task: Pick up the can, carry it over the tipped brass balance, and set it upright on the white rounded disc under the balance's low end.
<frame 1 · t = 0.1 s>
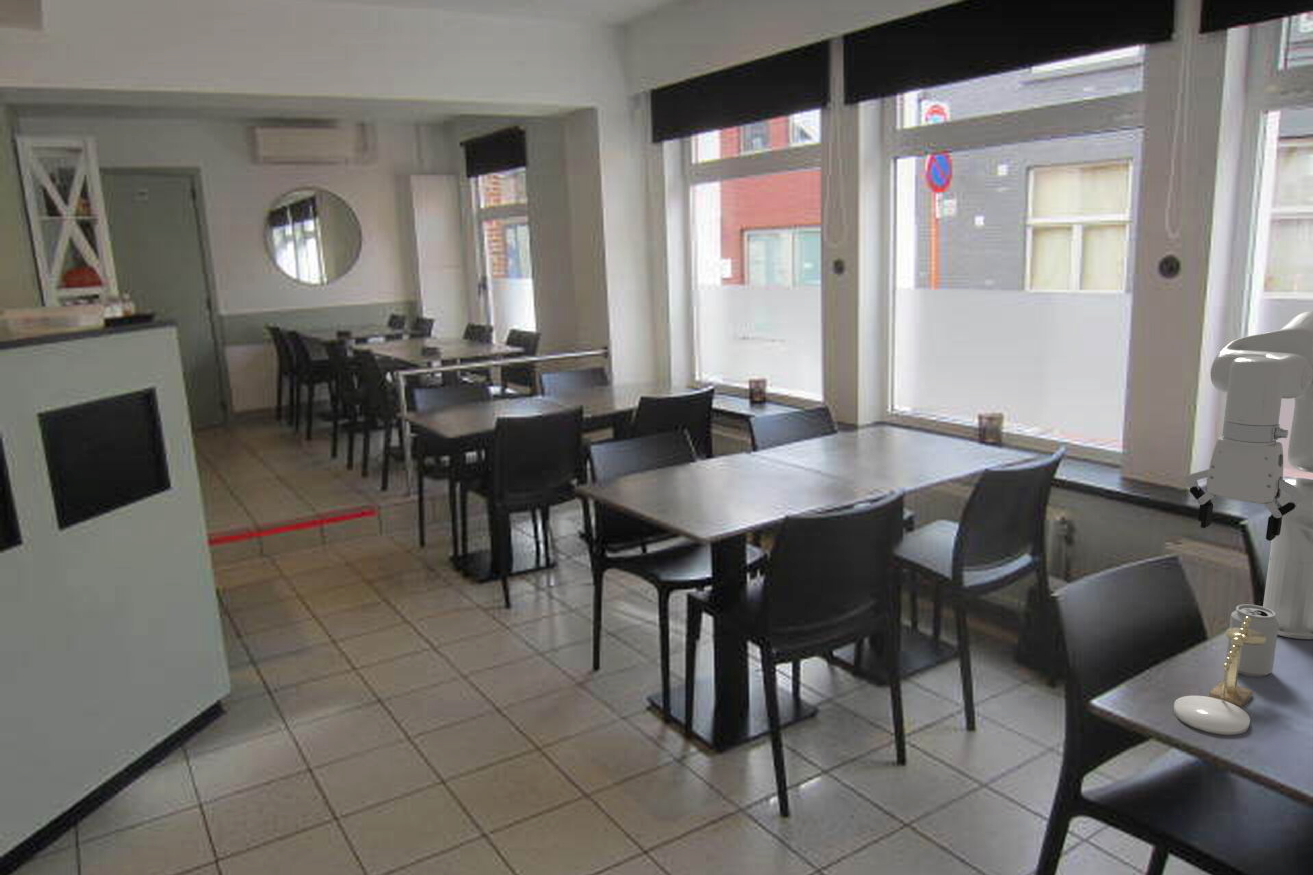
hand: (1237, 532, 155), 31 cm above the table, fingers open, 9 cm apart
can: (1248, 670, 173), on the table
white rounded disc: (1210, 717, 156), on the table
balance: (1230, 696, 163), on the table
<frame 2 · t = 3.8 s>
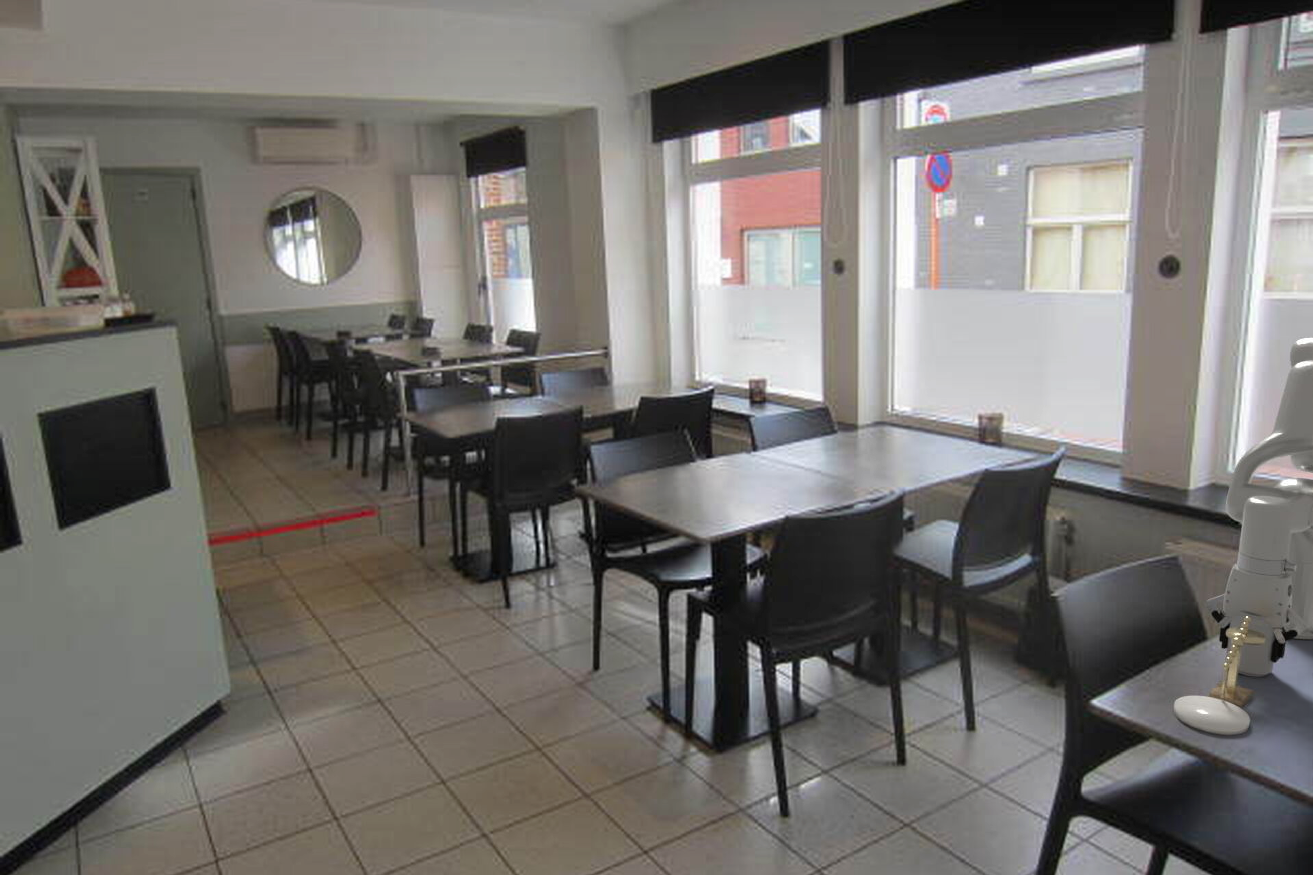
hand: (1250, 652, 172), 3 cm above the table, fingers closed on can, 7 cm apart
can: (1248, 670, 173), on the table, touching gripper
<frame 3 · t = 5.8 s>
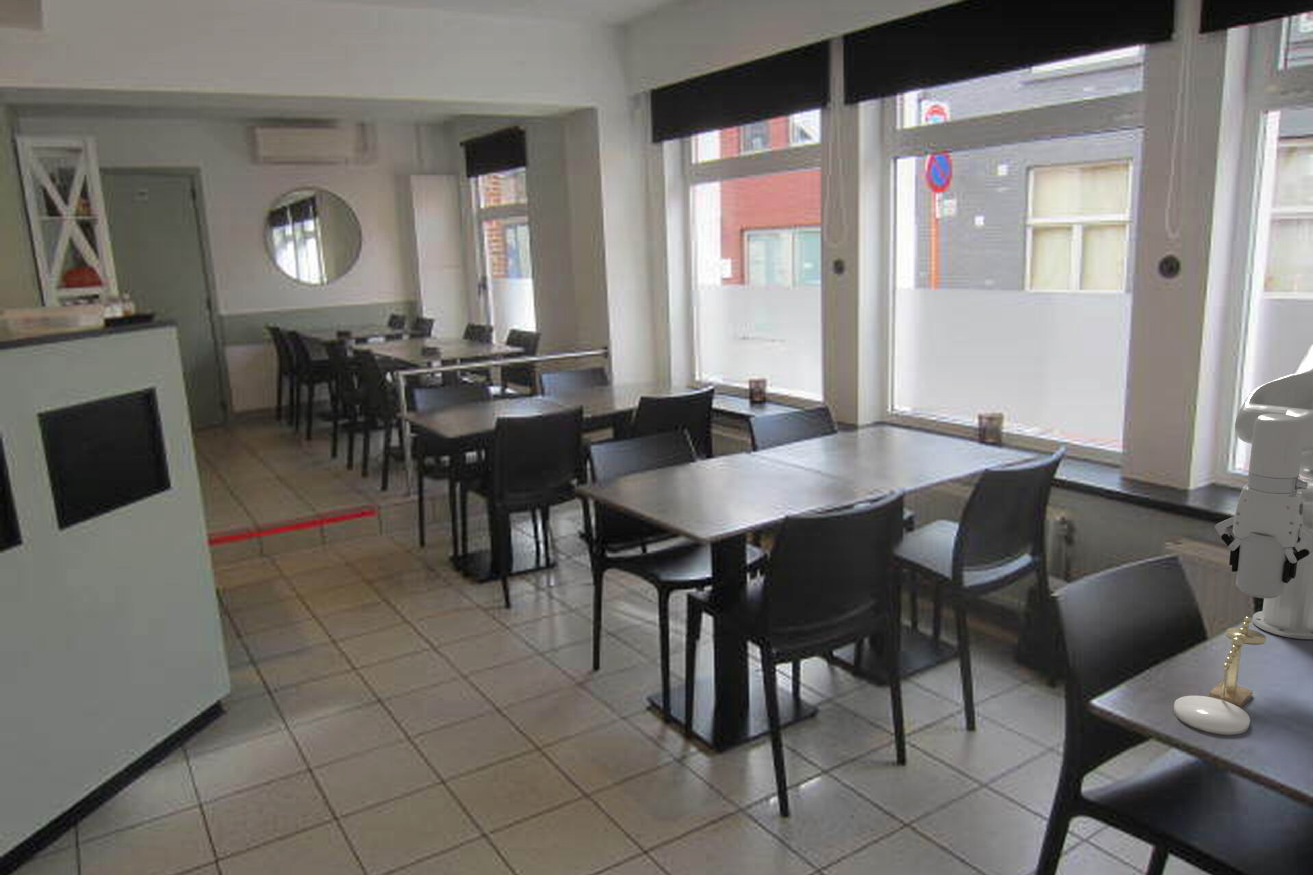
hand: (1261, 574, 169), 19 cm above the table, fingers closed on can, 7 cm apart
can: (1258, 593, 170), point 15 cm above the table, touching gripper
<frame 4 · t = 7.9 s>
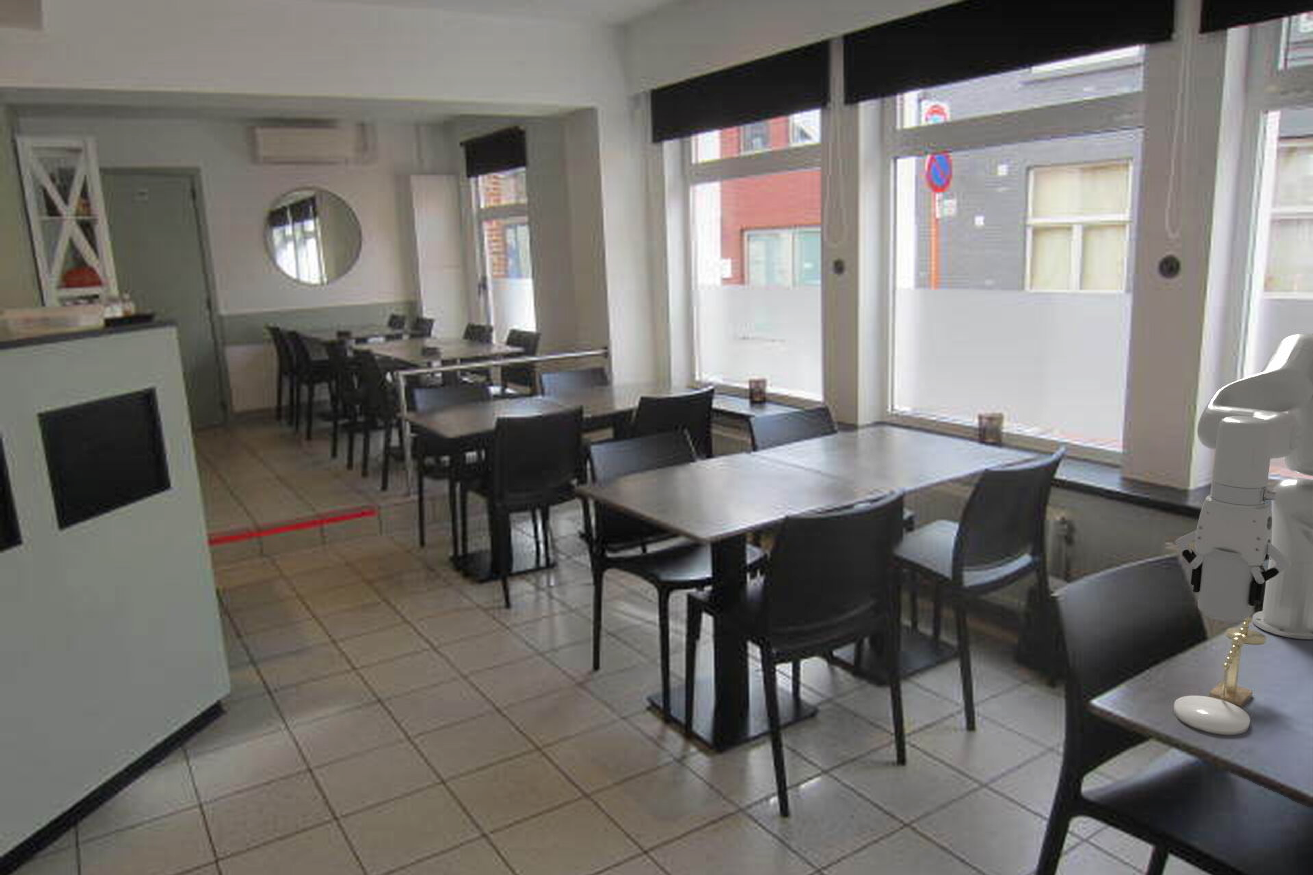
hand: (1225, 596, 152), 22 cm above the table, fingers closed on can, 7 cm apart
can: (1223, 616, 152), point 18 cm above the table, touching gripper
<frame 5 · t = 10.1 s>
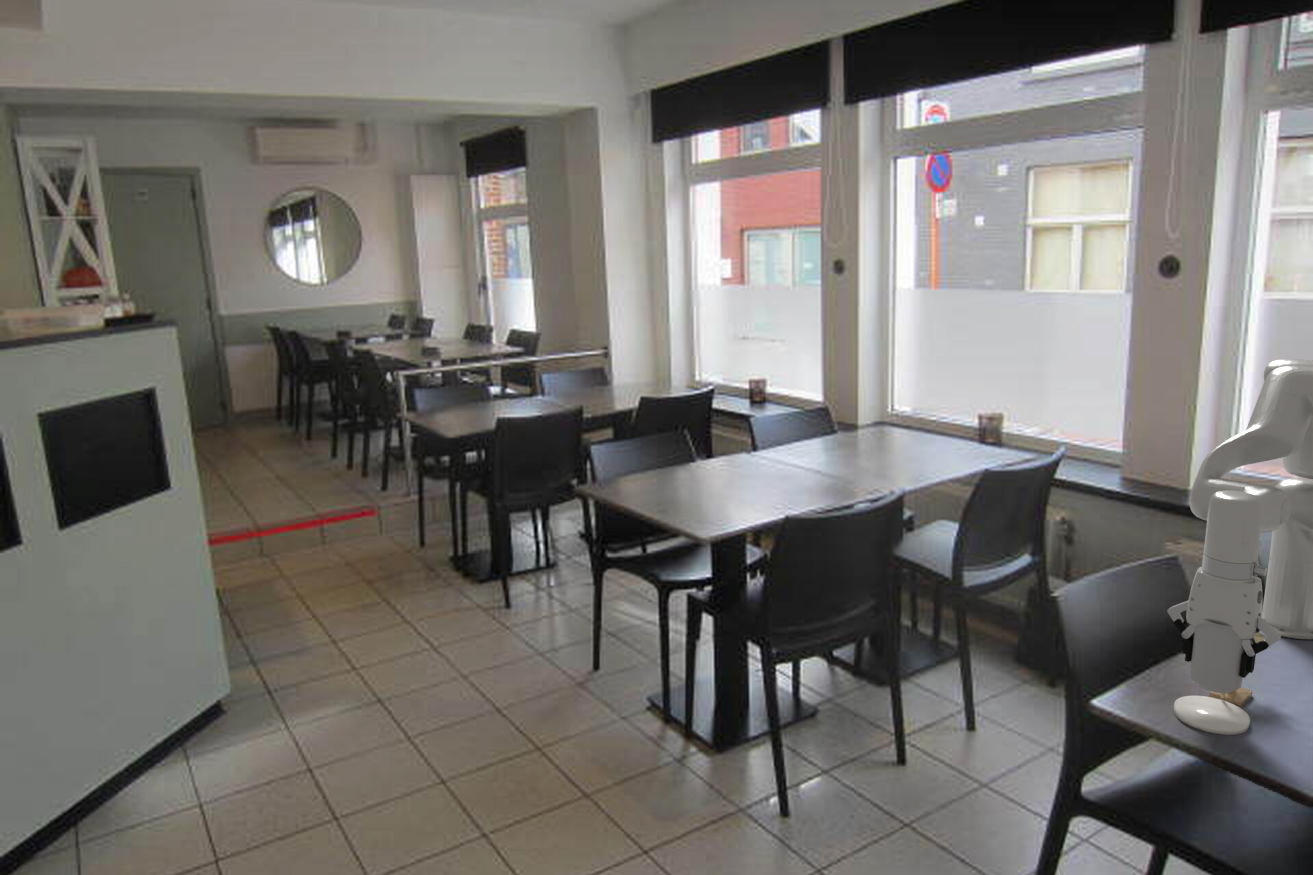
hand: (1216, 666, 154), 9 cm above the table, fingers closed on can, 7 cm apart
can: (1214, 685, 155), point 6 cm above the table, touching gripper
when the fingers open (6 cm above the table, at t = 11.9 s): can drops 1 cm, resting on white rounded disc.
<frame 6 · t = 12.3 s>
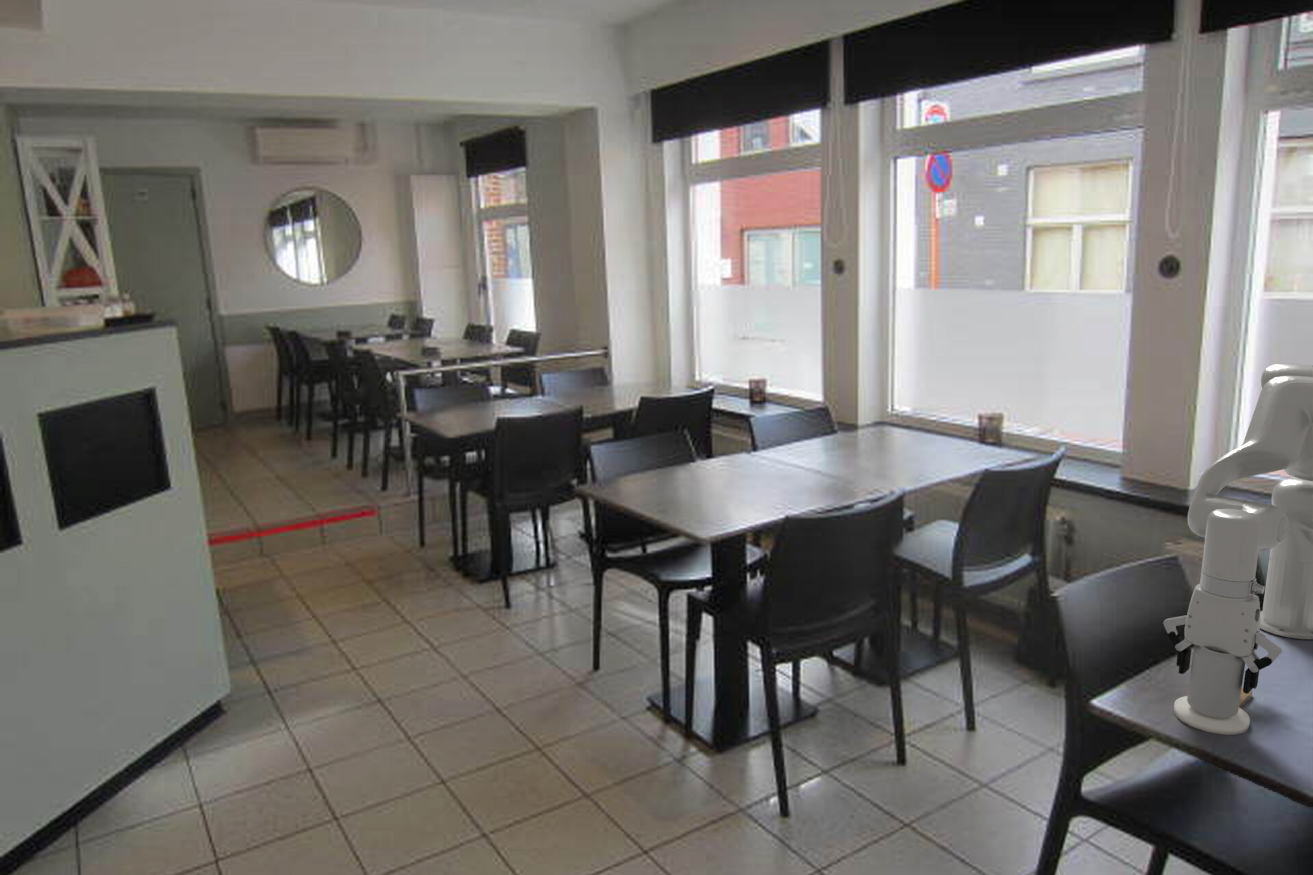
hand: (1215, 680, 155), 7 cm above the table, fingers open, 9 cm apart
can: (1211, 711, 156), point 1 cm above the table, touching white rounded disc
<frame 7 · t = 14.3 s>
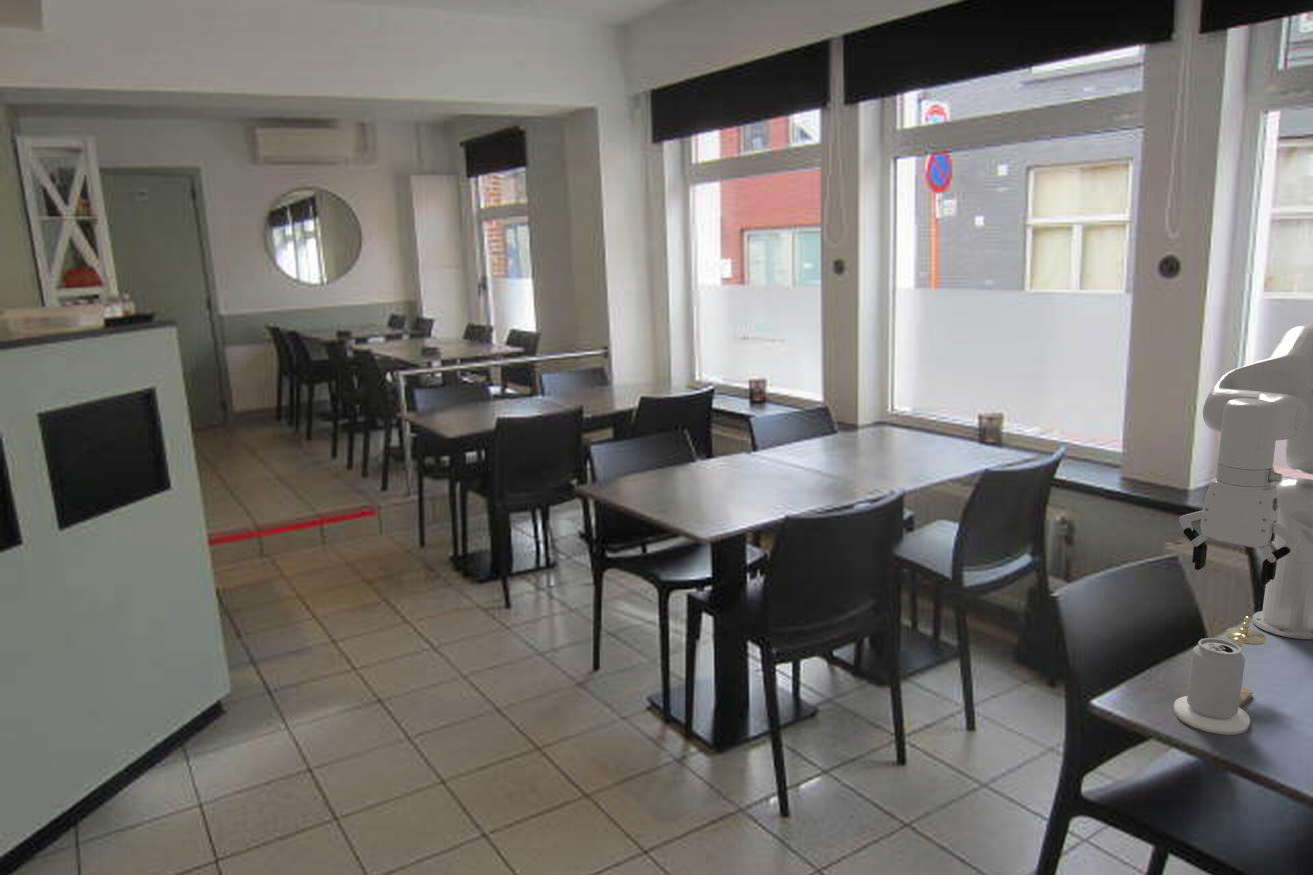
hand: (1231, 574, 153), 25 cm above the table, fingers open, 9 cm apart
nothing on the table moved.
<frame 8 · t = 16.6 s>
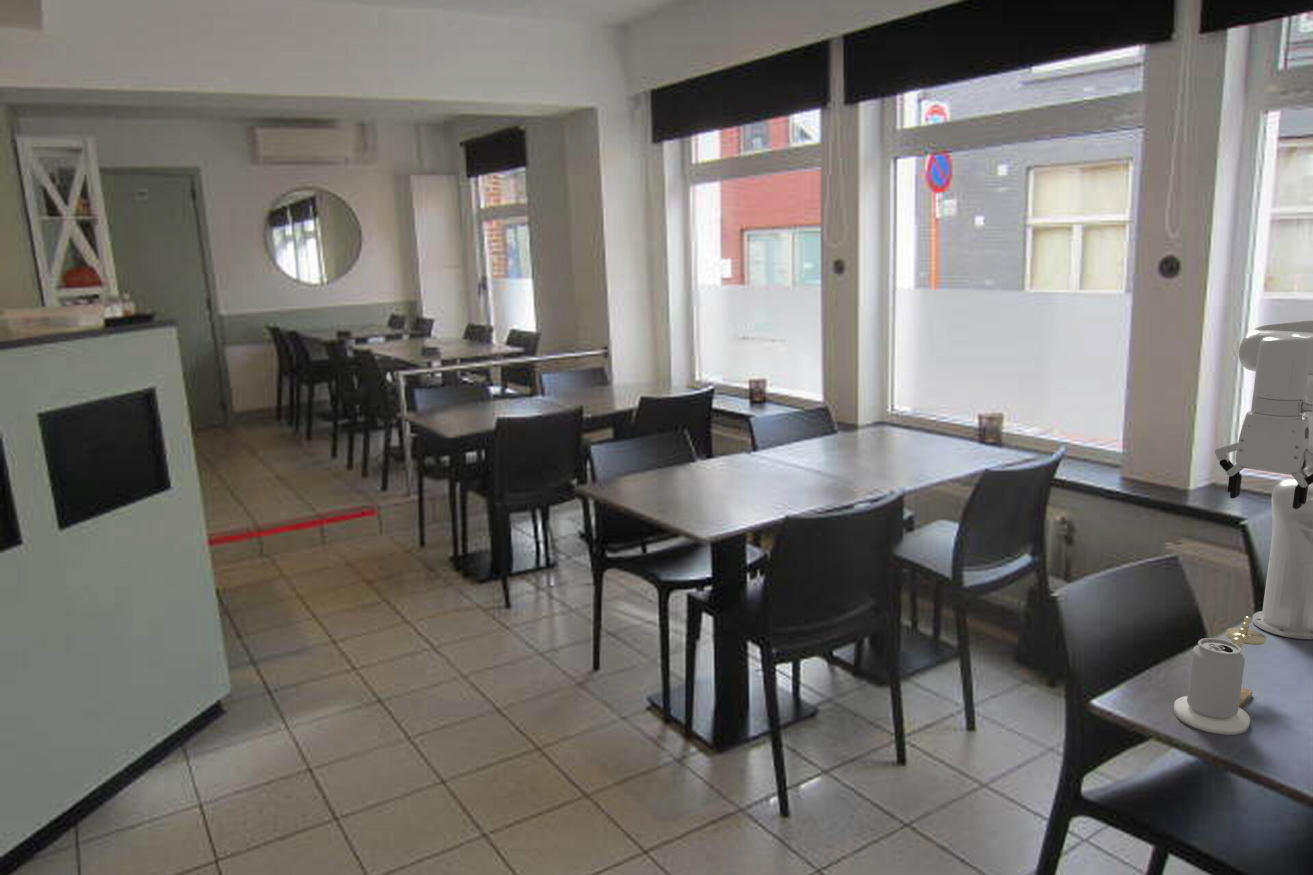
hand: (1265, 501, 164), 33 cm above the table, fingers open, 9 cm apart
nothing on the table moved.
at the end: can 0.2 cm off-centre on the white rounded disc, point 1.0 cm above the white rounded disc's base; can tilted 0°; the gripper is holding nothing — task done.
